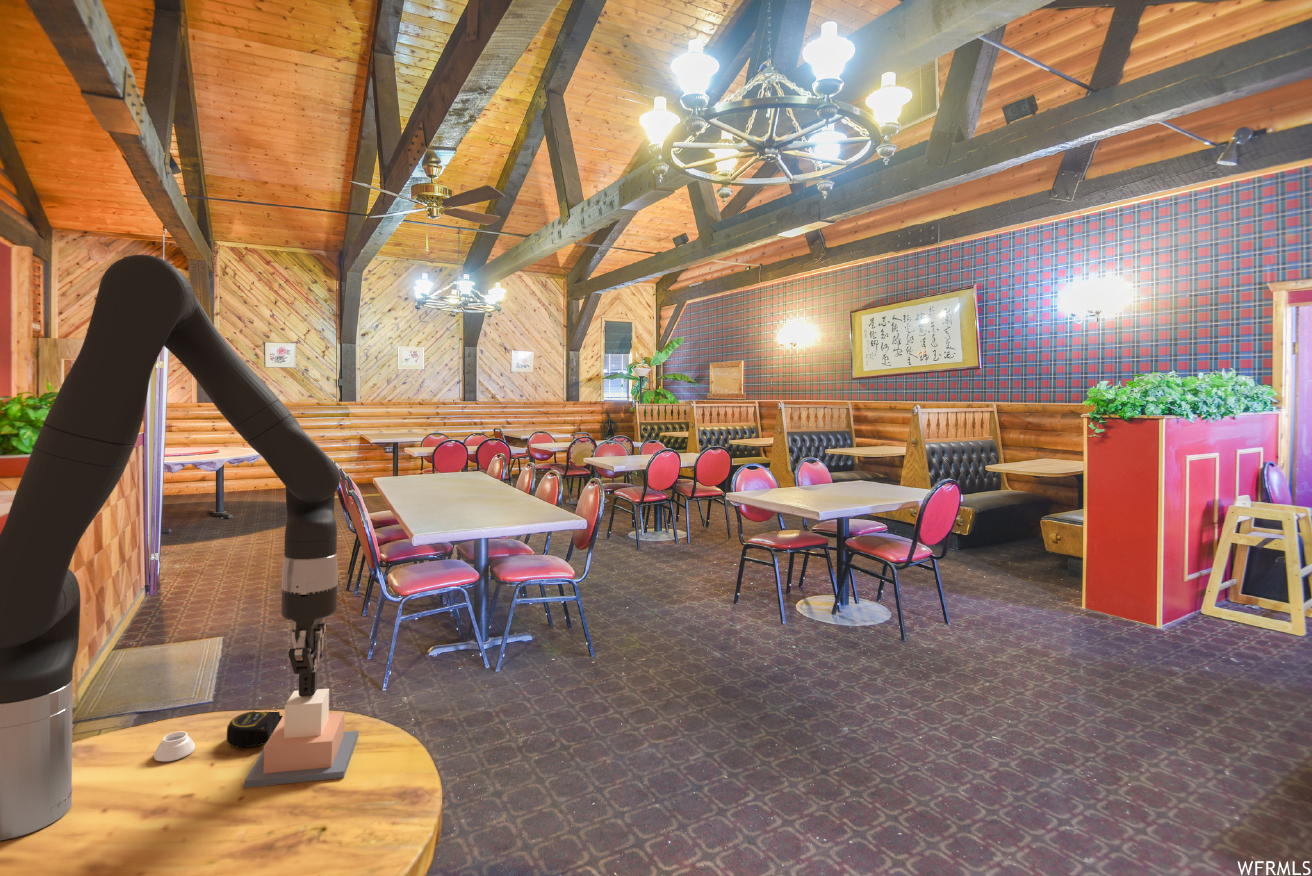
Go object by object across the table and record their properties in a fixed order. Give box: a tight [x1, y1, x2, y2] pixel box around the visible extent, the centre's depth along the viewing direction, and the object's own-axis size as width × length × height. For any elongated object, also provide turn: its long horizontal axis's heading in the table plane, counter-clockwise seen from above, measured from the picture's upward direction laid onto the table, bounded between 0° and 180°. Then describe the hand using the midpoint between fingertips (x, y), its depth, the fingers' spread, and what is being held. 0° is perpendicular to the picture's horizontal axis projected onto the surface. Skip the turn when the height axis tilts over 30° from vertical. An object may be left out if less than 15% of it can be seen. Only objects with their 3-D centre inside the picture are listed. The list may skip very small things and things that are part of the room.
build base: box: [243, 712, 359, 788], centre depth 98 cm, size 13×12×5 cm
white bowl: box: [153, 730, 196, 763], centre depth 98 cm, size 5×3×5 cm
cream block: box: [284, 688, 330, 738], centre depth 98 cm, size 5×5×5 cm
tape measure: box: [226, 710, 284, 749], centre depth 103 cm, size 7×7×4 cm
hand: (307, 694), depth 98 cm, fingers closed
